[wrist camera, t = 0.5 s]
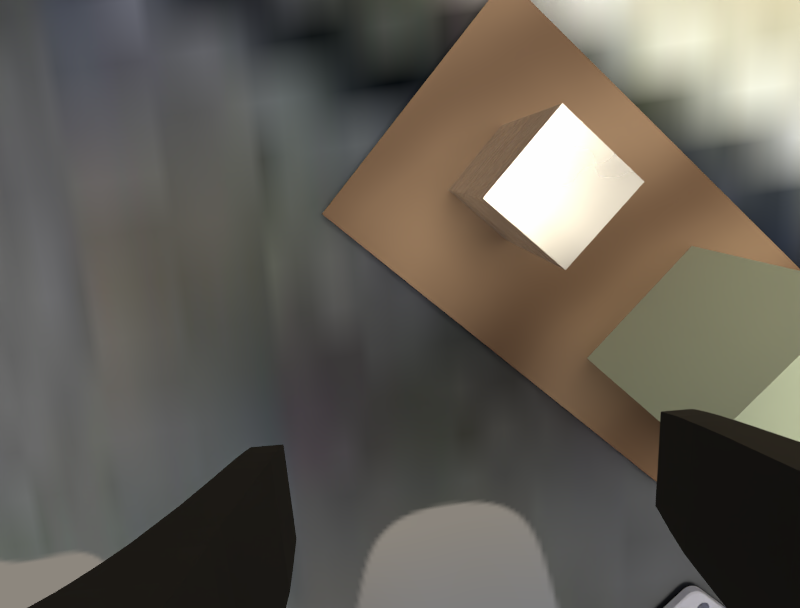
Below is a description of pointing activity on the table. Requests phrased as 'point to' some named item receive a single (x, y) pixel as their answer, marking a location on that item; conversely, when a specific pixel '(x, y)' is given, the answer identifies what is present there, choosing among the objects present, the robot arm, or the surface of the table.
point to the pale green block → (713, 342)
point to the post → (547, 184)
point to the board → (512, 265)
